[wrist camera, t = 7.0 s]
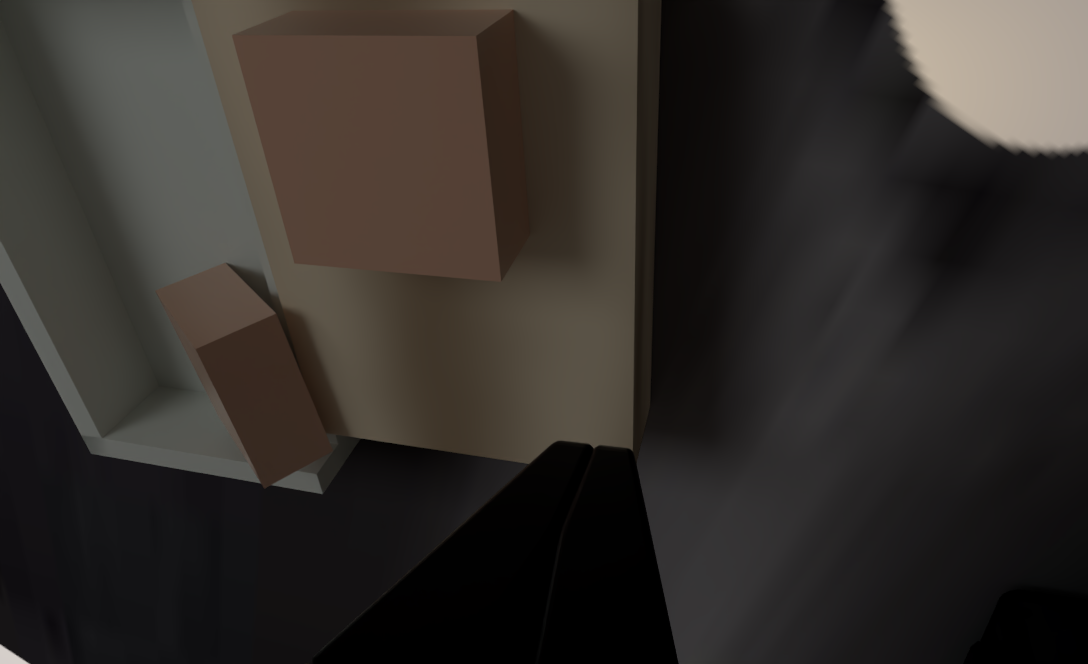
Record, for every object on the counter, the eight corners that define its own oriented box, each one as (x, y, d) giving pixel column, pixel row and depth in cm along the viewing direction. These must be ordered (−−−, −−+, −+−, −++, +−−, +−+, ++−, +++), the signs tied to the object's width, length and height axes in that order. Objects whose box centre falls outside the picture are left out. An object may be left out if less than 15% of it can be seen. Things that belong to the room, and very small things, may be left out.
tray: (251, -103, 17) (143, -85, 14) (375, 417, 25) (322, 493, 22) (-42, -88, 19) (-187, -70, 16) (163, 387, 27) (90, 453, 24)
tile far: (276, 313, 18) (195, 349, 18) (332, 451, 21) (264, 488, 20) (225, 262, 22) (154, 290, 21) (279, 386, 24) (218, 416, 23)
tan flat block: (663, -65, 15) (638, -40, 13) (650, 405, 22) (632, 479, 19) (267, -52, 17) (182, -30, 15) (366, 369, 24) (319, 432, 21)
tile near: (513, 9, 14) (475, 35, 12) (529, 235, 16) (501, 281, 14) (292, 10, 15) (231, 35, 13) (340, 221, 17) (294, 263, 16)
